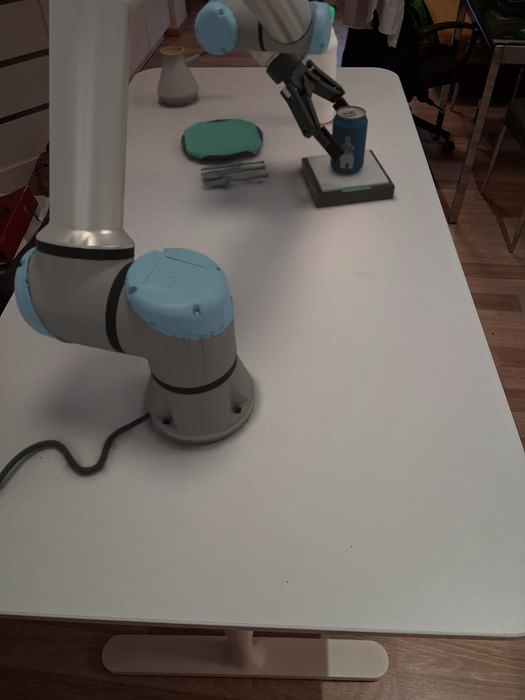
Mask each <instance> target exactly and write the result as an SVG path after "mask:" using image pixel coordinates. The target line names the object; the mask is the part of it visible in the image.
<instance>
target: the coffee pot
mask: <svg viewBox="0 0 525 700" xmlns="http://www.w3.org/2000/svg"><path fill="white" fill-rule="evenodd" d="M159 53H160V55H162V59H163V60H162V61H163V62H162V66H161V69H160V70H161V71H160V75H159V80H158V85H157V88H156V89H157V90H156V93H157V95H158V97H159V98H160V99H161V100H162V101H164V102H165V103H166V104H167V105H169V106H174V107H175V106H176V107H179V106H185V105H189V104H191V103H192V102H193V101H194V99H195V98H196V97H197V95H198V94H199V90H200V87H199V84H198V83H197V81H196V79H195V77H194V75H193V74H192V71H191V70H190V68H189V65H188V64H189V63H191V62H193V61H194V60H197V59H198V58H200V57H203V56H206V55H208V54H209V53H208V52H207V51H206V50H204V49H203V50H202V51H201V52H199V53H197V54H195V55H193V56H190V57H188V58H186V59H185V58H184V53H185V48H184V47H183V46H181V45H168V46H165V47H163V48H161V49H159Z"/></svg>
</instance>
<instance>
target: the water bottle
mask: <svg viewBox="0 0 525 700" xmlns="http://www.w3.org/2000/svg"><path fill="white" fill-rule="evenodd" d="M329 6H330V5H329ZM330 8H331V12H332V23H333V22H334V21H335V20H334V19H335V15H336V14H335V13H336V12H335V8H334V7H333V6H330ZM335 32H336V31H335V29H334V27H333V25H332V26H331V35H330V41H329V45H328V48H327V50H326V51H325V52H324V53H323V54H321V55H307V57H306V58H307V59H306V62H307V61H308V60H309V59H311V60H312V61H313V63H314V64H315V65H316V66H317V67H318V68H319V69H321V70H322V71H323V72H324V73H326V74H327V75H328V76H329V77H331V78H332V79H333V80H334V81H336V79H337V63H338V62H337V60H338V59H337V58H338V55H337V54H338V53H337V50H338V46H339V42H338V38H337V36H336V33H335ZM311 100H312V102H313V105H314V108H315V111H316V114H317V117H318V119H319V122H320V125H324V124H327V123H330V122H331V121H333V119H334V117H335V110H334V108H333V107H332V106H333V105H334V104H335V103H334V104H333V103H331V102H329V101H327V100H325V99H324V98H322V97H320V96H318V95H316V94H314V93H312V97H311Z"/></svg>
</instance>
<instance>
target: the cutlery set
mask: <svg viewBox="0 0 525 700" xmlns="http://www.w3.org/2000/svg"><path fill="white" fill-rule="evenodd" d="M263 140H264V132H263V130H262V129H261V128H260V127H259V126H257V125H256V123H255V122H252V121H250V120H246V119H243V118H222V119H219V118H218V119H214V120H208V121H207V120H206V121H199V122H195V123H194V124H192V125H191V126H189V127H187V128H185V129H184V130H183V134H182V136H181V139H180V143H181V146H182V148H183V149H184V150H185V151H186V152H187V154H188V155H189V156H190V157H194V158H196V159H199V160H202V159H203V158H204V159H205V158H206V159H216V160H219V159H230V158H235V157H240V156H242V155H245V154H248V153H250V152H251V153H253V154H254V155H257V154H258V153H259V151H260V150H261V149H262V145H263V143H262V142H263ZM254 164H256V165H257V164H262V165H259V166H253V167H246V168H243V169H238V170H233V171H229V172H228V171H226V170H222V169H228V168H233V169H235V168H236V167H237V168H240V167H242V166H246V165H254ZM264 164H265V161H264V160H260V161H251V162H250V161H249V162H239V161H238V162H232V164H219V165H211V166H210V165H209V166H204V167H202V168H200V171H201V172H202V171H205V172H203V173H201V177H202V178H204V179H208V180H211V181H203V182H202V184H203V187H206V188H207V187H213V186H214V187H215V186H216V187H217V186H219V187H220V186H221V187H222V186H228V185H230V184H231V183H233V182H248V181H255V180H256V181H257V180H261V179H269V178H270V174H269V173H268V172H266V173H265V172H264V173H260V174H256V175H250V176H243V177H233V178H230V177H229V175H233V174H234V175H235V174H240V173H246V172H255V171H266V170H267V166H266V164H265V165H264ZM225 176H228V177H225Z"/></svg>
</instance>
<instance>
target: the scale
mask: <svg viewBox="0 0 525 700" xmlns="http://www.w3.org/2000/svg"><path fill="white" fill-rule="evenodd" d="M330 159H331V157H330V155H329V154H328V153H327V154H322V155H321V154H320V155H313V156H312V155H311V156H306V157H301V167H300V168H301V169H300V170H301V172H302V174H303V176H304V179H305V181H306V183H307V186H308V188H309V190H310V193H311V195H312V197H313V199H314V202H315V204H316V206H317V208H319V209H320V208H326V207H335V206H343V205H351V204H358V203H365V202H367V203H368V202H373V201H381V200H382V201H383V200H389V199H394V195H395V188H396V186H395V183H393V181H392V179H391V177H390V176H389V175H388V173H387V172H386V170H385V169H384V166H383V165H382V164H381V162H380V161H379V159H378V157H377V156H376V154H375V153H374V151H373V150H372V149H365V155H364V164H363V166H362V168H361V169H360V170H359V172H358V173H356V174H353V175H340V174H338V173H336V172H335V171H334V170H333V168H332V166H331V164H330Z"/></svg>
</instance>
